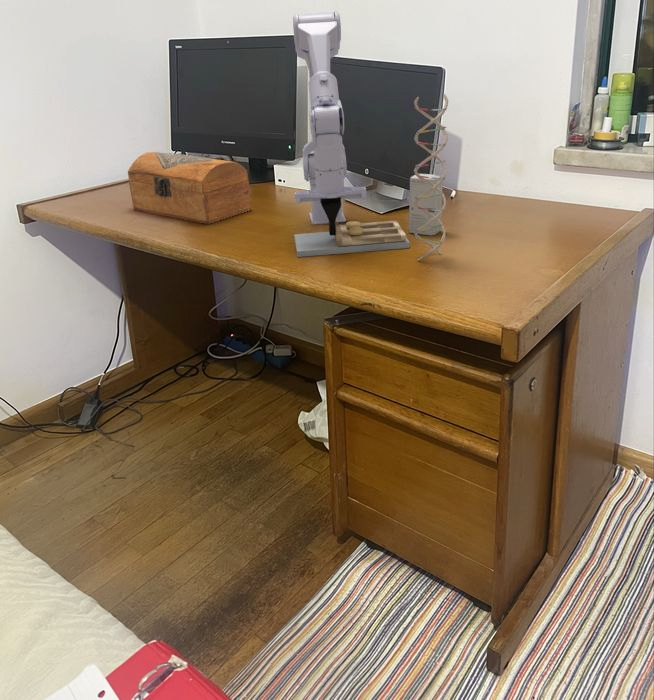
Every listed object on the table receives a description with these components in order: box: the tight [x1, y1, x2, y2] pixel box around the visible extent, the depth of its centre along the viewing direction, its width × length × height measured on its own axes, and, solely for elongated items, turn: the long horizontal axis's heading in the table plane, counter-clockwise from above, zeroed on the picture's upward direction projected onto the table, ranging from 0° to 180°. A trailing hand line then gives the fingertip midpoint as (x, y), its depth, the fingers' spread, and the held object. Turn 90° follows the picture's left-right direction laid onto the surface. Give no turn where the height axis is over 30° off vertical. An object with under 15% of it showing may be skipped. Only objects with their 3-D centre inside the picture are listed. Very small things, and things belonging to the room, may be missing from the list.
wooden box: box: [127, 151, 252, 225], centre depth 175 cm, size 30×16×14 cm, turn 49°
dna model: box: [413, 93, 449, 262], centre depth 128 cm, size 7×6×30 cm
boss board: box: [293, 220, 411, 258], centre depth 144 cm, size 12×23×4 cm, turn 95°
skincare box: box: [408, 173, 444, 236], centre depth 147 cm, size 6×4×12 cm
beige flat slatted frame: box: [335, 218, 407, 246], centre depth 144 cm, size 11×14×3 cm
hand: (332, 234), depth 144 cm, fingers closed
